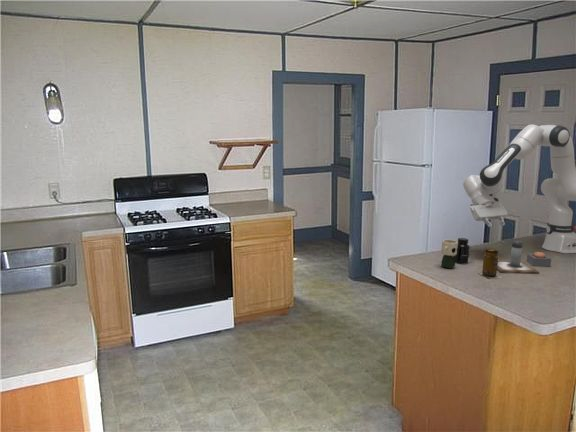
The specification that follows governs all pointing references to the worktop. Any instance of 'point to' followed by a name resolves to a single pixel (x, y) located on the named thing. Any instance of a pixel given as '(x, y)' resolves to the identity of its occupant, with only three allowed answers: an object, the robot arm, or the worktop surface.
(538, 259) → the button box
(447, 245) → the character mug
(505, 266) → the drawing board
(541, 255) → the button
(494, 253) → the condiment
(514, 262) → the grey cylinder
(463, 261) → the supplement bottle
